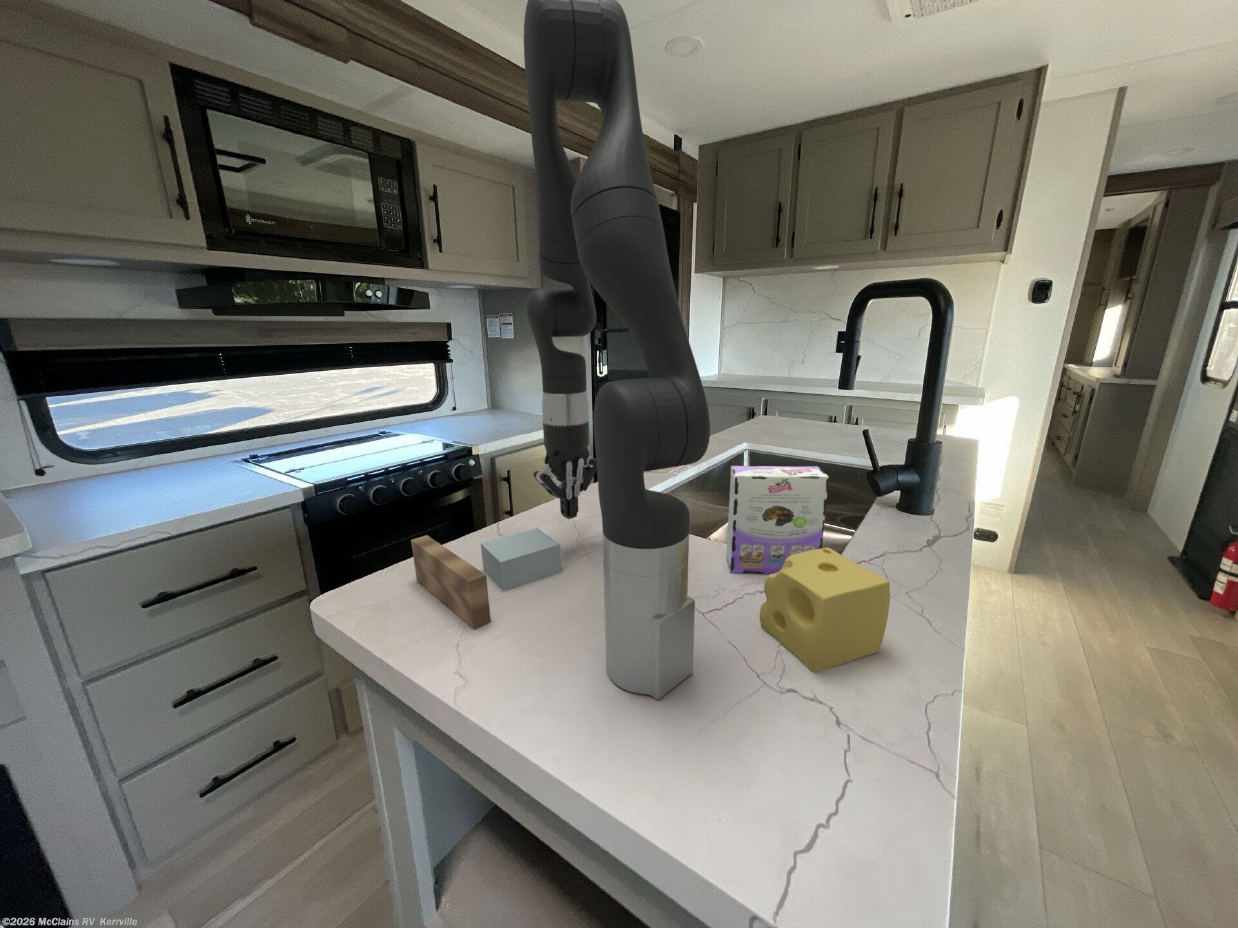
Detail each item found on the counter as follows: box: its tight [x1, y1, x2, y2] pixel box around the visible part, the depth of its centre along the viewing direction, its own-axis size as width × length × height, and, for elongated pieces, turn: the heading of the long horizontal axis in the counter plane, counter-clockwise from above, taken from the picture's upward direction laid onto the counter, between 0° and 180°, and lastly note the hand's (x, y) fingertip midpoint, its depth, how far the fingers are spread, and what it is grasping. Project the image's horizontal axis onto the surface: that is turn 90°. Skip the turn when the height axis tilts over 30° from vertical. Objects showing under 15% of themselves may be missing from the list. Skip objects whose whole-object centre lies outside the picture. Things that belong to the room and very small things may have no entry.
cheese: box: [759, 547, 891, 673], centre depth 61 cm, size 10×11×10 cm
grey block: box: [480, 527, 562, 592], centre depth 80 cm, size 8×10×5 cm
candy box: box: [726, 465, 830, 575], centre depth 78 cm, size 14×6×16 cm, turn 84°
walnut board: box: [410, 534, 492, 630], centre depth 71 cm, size 18×2×7 cm, turn 44°
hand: (569, 516), depth 86 cm, fingers closed
